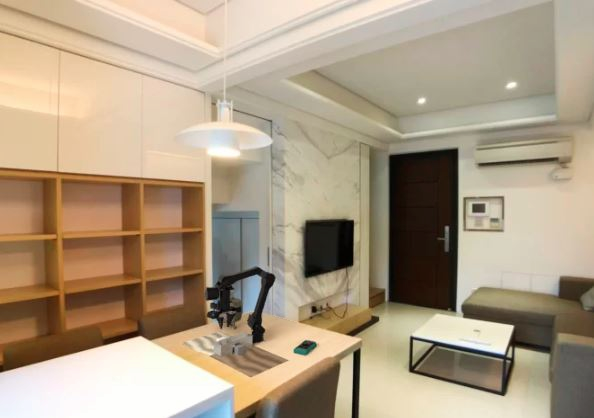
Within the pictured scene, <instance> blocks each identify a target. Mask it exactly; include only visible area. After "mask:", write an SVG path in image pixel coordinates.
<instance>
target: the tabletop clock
mask: <svg viewBox="0 0 594 418" xmlns="http://www.w3.org/2000/svg"><path fill="white" fill-rule="evenodd" d="M235 292H236V290H235V289H234V290H233V292H231V294H230V300H232V303H230V306H233V305H237V306H240V307H241V308H242V309H243V301H242V299H240V298H237V297H234V294H235ZM217 303H218V301H217ZM215 311H217V312H218V311H219V310H217V309H215ZM235 313H236V315H235V316H234V318H233V320H232V322H231V324H230V326H231V327H232V326H233V329H234V330H236V329H237V326H236V323H237V322H240V321H241V320H242V317H243V311H242V312H239V313H237V312H236V311H235ZM222 317H224V320H223V324H227V315H226V313H225V314H222Z"/></svg>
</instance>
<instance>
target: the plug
mask: <svg viewBox="0 0 594 418" xmlns="http://www.w3.org/2000/svg"><path fill="white" fill-rule="evenodd" d="M222 339H226V338H225V337H220V338H217V341H219V340H222ZM232 352H234V354H235V355H237V356H239V355H242V354H244V346H243V345H241V344H240V345H237V346H235V348H232Z"/></svg>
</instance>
